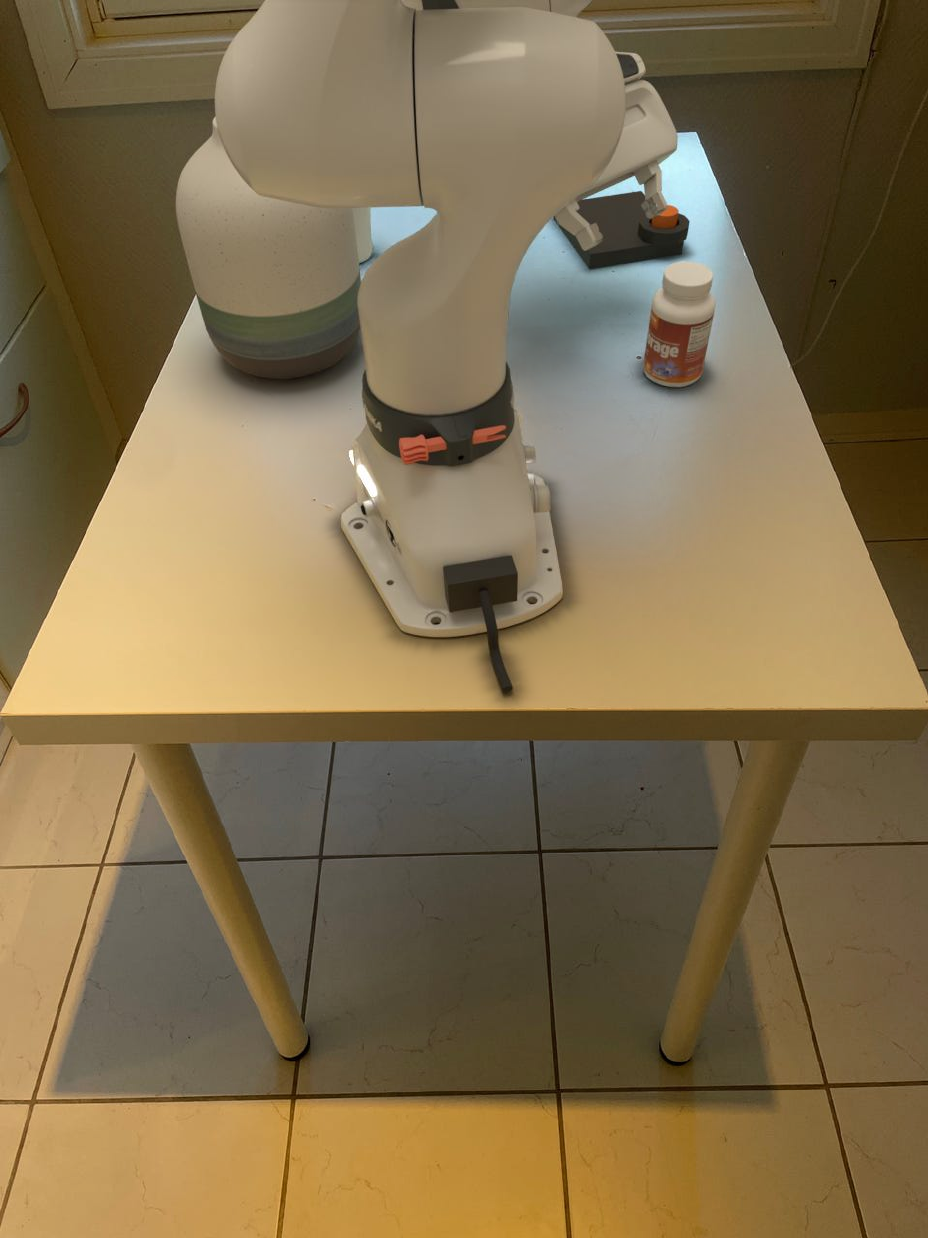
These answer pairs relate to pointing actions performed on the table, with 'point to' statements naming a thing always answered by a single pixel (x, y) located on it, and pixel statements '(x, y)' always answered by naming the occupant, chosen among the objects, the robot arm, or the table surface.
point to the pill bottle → (680, 325)
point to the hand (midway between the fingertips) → (627, 229)
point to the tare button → (666, 218)
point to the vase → (267, 270)
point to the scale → (626, 231)
